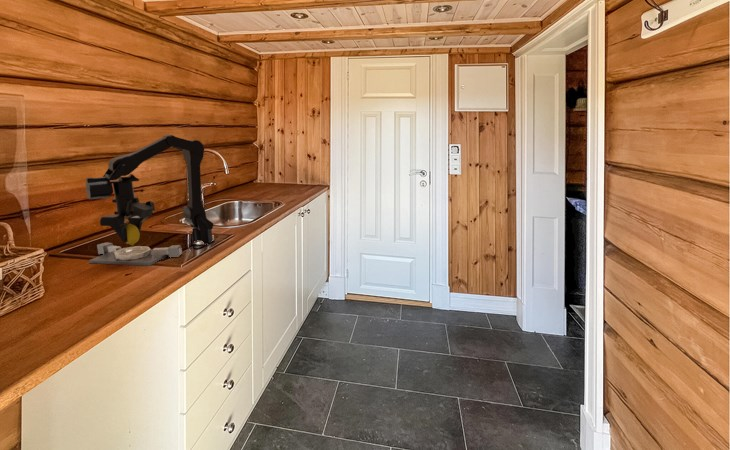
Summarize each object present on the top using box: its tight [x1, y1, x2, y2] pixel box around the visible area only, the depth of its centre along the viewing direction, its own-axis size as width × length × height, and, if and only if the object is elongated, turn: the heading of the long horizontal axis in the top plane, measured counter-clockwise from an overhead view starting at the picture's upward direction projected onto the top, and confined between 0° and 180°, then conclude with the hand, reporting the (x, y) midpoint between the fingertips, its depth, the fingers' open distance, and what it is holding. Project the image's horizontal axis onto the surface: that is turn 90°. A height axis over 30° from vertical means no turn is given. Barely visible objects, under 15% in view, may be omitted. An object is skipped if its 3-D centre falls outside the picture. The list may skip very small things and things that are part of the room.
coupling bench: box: [88, 242, 183, 267], centre depth 140 cm, size 31×14×4 cm, turn 82°
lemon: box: [125, 222, 141, 247], centre depth 139 cm, size 6×6×8 cm
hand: (131, 239), depth 139 cm, fingers closed on lemon, 5 cm apart
